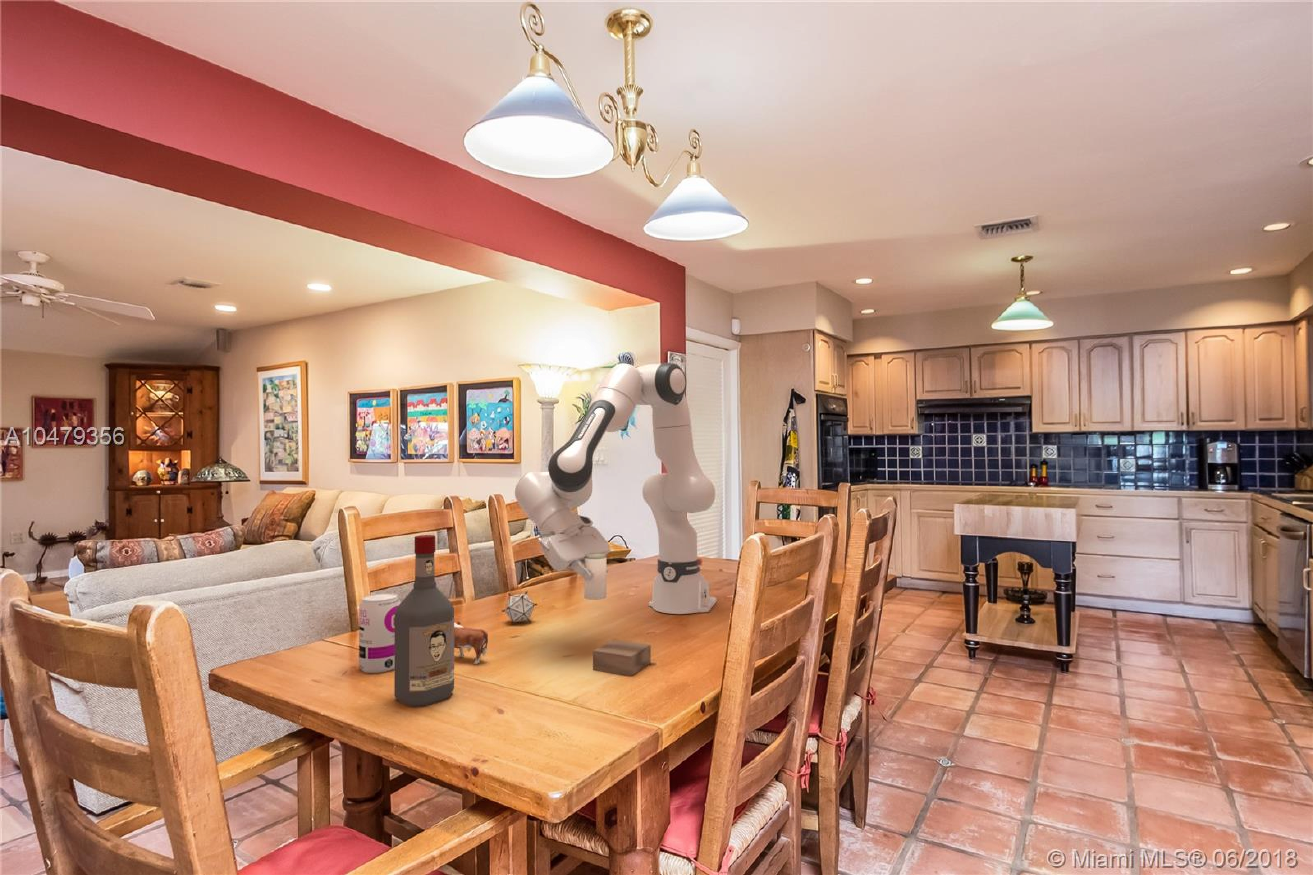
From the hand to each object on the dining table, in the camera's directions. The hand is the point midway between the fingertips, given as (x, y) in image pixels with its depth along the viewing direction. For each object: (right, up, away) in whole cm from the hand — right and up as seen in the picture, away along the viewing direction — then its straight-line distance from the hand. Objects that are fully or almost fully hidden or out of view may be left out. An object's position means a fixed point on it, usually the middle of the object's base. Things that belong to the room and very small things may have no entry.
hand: (597, 576), depth 149 cm
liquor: (-30, -17, -26) cm, 43 cm away
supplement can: (-45, -18, -10) cm, 50 cm away
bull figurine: (-29, -18, -4) cm, 35 cm away
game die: (-23, -18, +26) cm, 40 cm away
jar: (-1, -5, 0) cm, 5 cm away
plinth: (+6, -17, -9) cm, 21 cm away
